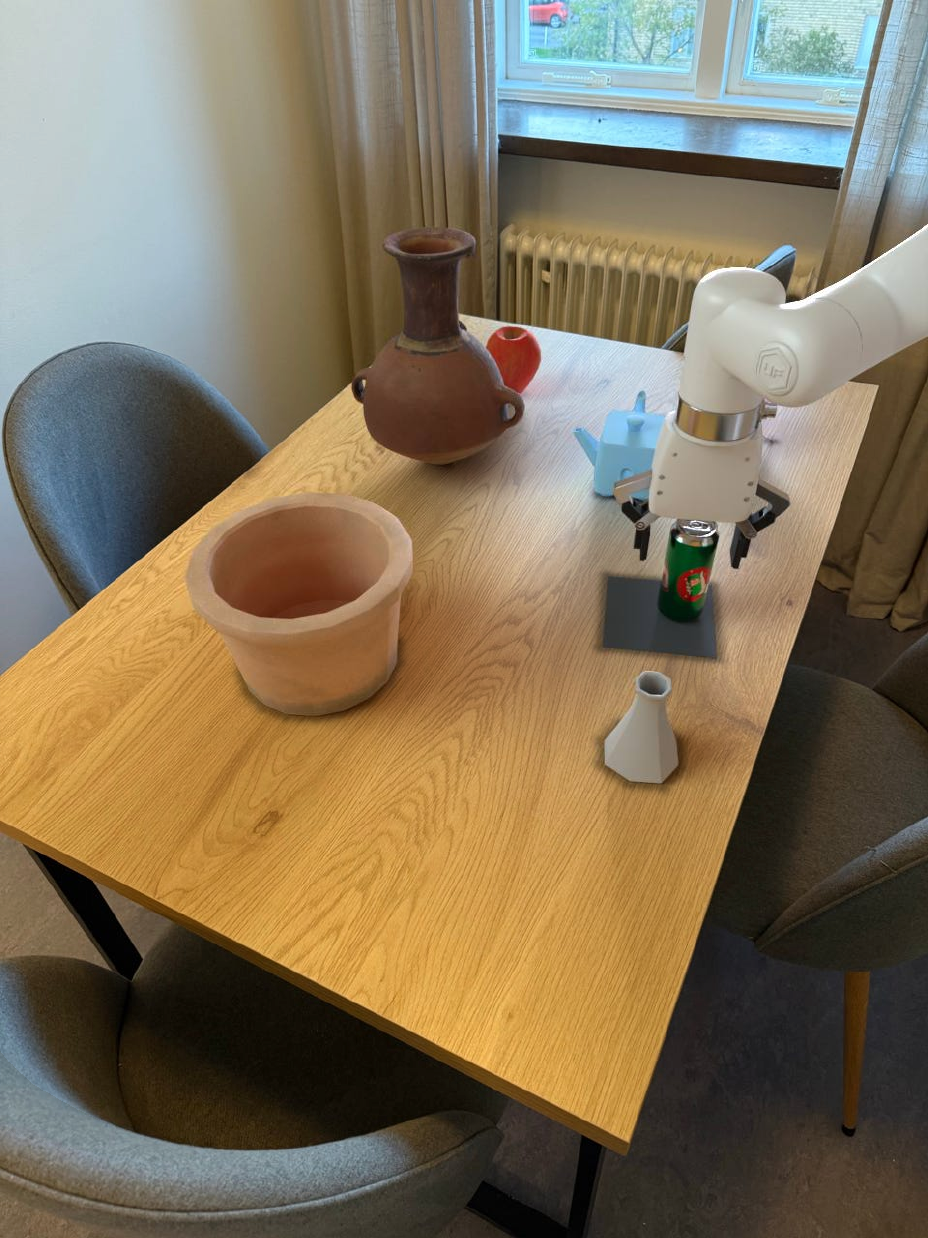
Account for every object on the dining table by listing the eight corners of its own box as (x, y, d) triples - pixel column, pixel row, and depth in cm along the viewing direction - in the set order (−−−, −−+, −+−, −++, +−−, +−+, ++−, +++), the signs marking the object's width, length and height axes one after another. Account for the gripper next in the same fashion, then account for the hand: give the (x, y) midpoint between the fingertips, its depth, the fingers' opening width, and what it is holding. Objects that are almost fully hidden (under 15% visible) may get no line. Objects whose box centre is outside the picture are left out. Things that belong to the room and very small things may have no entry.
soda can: (663, 590, 97) (678, 505, 88) (706, 602, 95) (726, 516, 87) (650, 617, 93) (665, 531, 85) (695, 630, 92) (715, 544, 84)
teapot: (669, 529, 105) (681, 460, 99) (559, 515, 108) (563, 447, 101) (679, 454, 118) (690, 389, 111) (580, 443, 121) (585, 379, 114)
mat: (711, 586, 97) (711, 584, 97) (716, 659, 89) (716, 657, 89) (607, 577, 99) (607, 575, 99) (602, 647, 90) (602, 646, 90)
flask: (592, 770, 79) (601, 700, 72) (615, 716, 83) (625, 645, 77) (667, 796, 76) (684, 726, 69) (687, 739, 81) (704, 668, 74)
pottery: (353, 767, 80) (333, 663, 70) (176, 694, 87) (135, 590, 78) (456, 626, 94) (451, 522, 84) (295, 573, 101) (274, 473, 91)
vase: (537, 432, 124) (544, 218, 103) (508, 509, 110) (509, 279, 89) (379, 415, 129) (357, 208, 108) (332, 486, 115) (296, 264, 94)
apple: (546, 386, 134) (549, 320, 126) (529, 411, 128) (530, 344, 121) (496, 378, 136) (496, 313, 129) (477, 402, 131) (476, 336, 123)
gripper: (808, 397, 79) (768, 542, 90) (623, 387, 81) (607, 529, 93) (819, 439, 73) (775, 587, 85) (620, 427, 76) (604, 572, 87)
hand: (687, 556), depth 89 cm, fingers open, 9 cm apart
